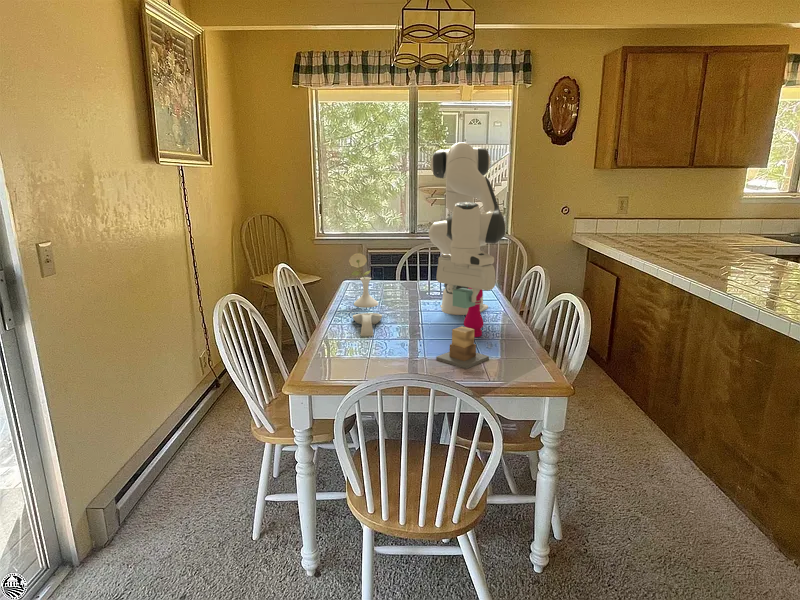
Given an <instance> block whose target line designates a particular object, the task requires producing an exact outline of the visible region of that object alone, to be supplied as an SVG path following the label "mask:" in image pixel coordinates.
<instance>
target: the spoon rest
mask: <svg viewBox="0 0 800 600" xmlns="http://www.w3.org/2000/svg"><path fill="white" fill-rule="evenodd" d="M382 317H383V315H382V314H380V313H376V312H369V313H368V312H363V313H357V314H353V315H352V319H353V321H355V323H357V324H359V325H361V329H360V337H373V336H374V329H373V325H376V324H378V323H379V322H380V321H381V319H382Z"/></svg>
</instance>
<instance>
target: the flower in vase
mask: <svg viewBox="0 0 800 600" xmlns="http://www.w3.org/2000/svg"><path fill="white" fill-rule="evenodd" d="M348 262H349V264H350V266H351V267H355V268H358V270H353V271H352V272H351V273H350V275H352V276H357V277H358V276H359V275H360V276H362V277H360V278H359V279H360V282H361V283H362V290H363V291H362V295H361V296H360V297H359V298H357V299H356V300H355V301H354V303H353V305H354V306H355V307H358V308H374V307H377V306H379V302H378V300H376V299H374V297H372V296H371V295H370V293H369V284H370V281H372V277H367V276H368V275H369V274H370V273H371V271H372V270H371V269H369V270H367V271H366V272H364V273H363V274H362V272H361V269H360V268H361V267H363V266H365V265H366V263H367V262H368V260H367V257H366V255H365V254H363V253H362V252H361V253H359V252H358V253H354V254H352V255H351V256H350V257H349V259H348ZM365 276H366V277H365Z"/></svg>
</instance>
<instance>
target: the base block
mask: <svg viewBox="0 0 800 600" xmlns="http://www.w3.org/2000/svg"><path fill="white" fill-rule="evenodd" d="M449 352H450V353H449V357H453V358H456V359H459V360H463V361H466V360H468V359H471V358H473V357H475V356H476V353H477V344H476V343H474V345H471V346H469V347H466V348H463V347H459V346H455V345H452V343H450V344H449Z"/></svg>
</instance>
